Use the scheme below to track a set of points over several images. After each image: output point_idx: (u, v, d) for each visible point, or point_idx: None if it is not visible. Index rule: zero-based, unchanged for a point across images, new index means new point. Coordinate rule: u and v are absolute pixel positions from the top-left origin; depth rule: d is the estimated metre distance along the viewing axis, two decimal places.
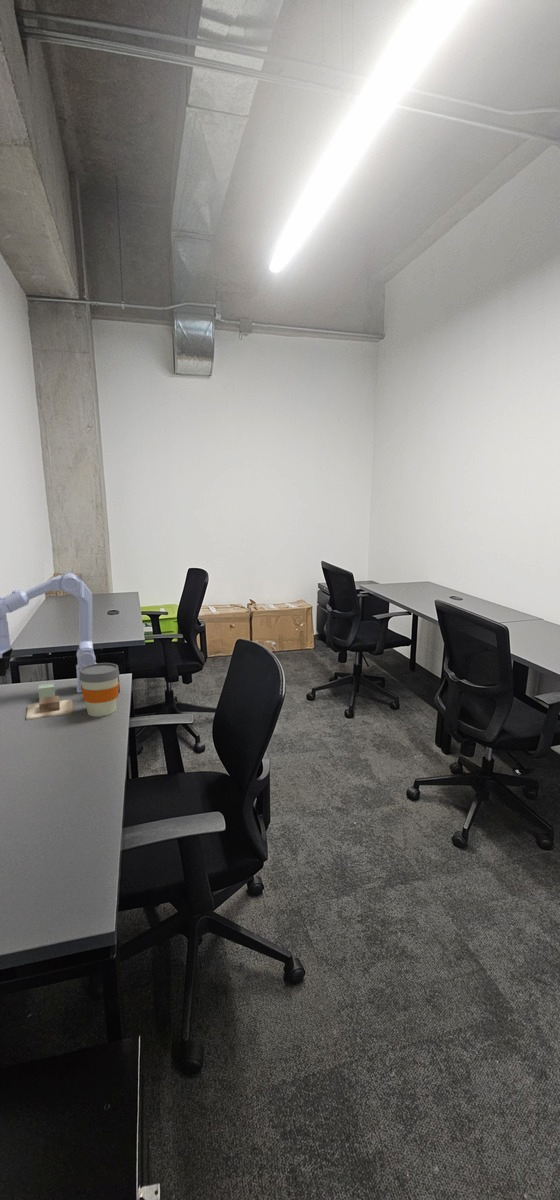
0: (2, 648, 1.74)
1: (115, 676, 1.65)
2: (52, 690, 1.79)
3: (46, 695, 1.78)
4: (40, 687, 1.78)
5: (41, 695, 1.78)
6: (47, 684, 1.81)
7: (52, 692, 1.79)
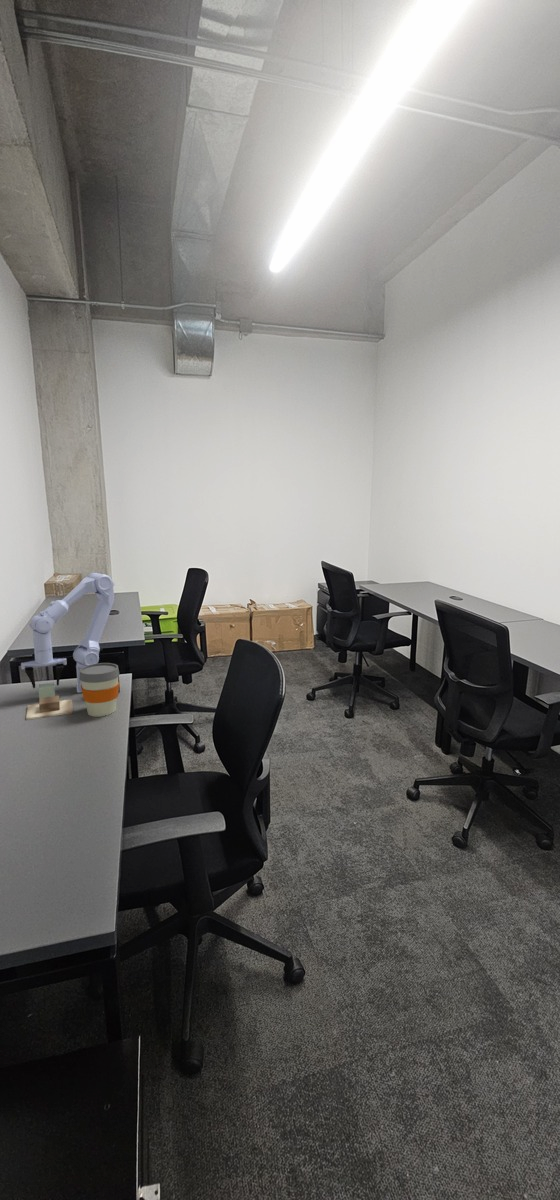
0: (35, 661, 1.77)
1: (115, 676, 1.65)
2: (52, 690, 1.79)
3: (46, 695, 1.78)
4: (40, 687, 1.78)
5: (41, 695, 1.78)
6: (47, 684, 1.81)
7: (52, 692, 1.79)
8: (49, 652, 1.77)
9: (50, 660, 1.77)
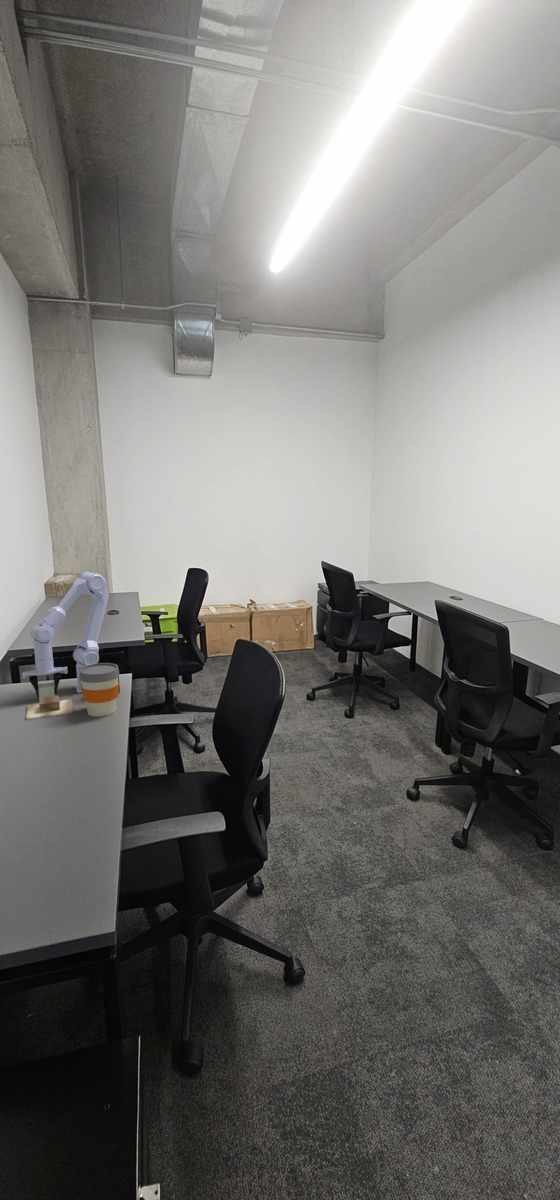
0: (36, 671, 1.77)
1: (115, 676, 1.65)
2: (52, 690, 1.79)
3: (46, 695, 1.78)
4: (40, 687, 1.78)
5: (41, 694, 1.77)
6: (47, 684, 1.81)
7: (52, 692, 1.79)
8: (50, 661, 1.77)
9: (51, 669, 1.78)
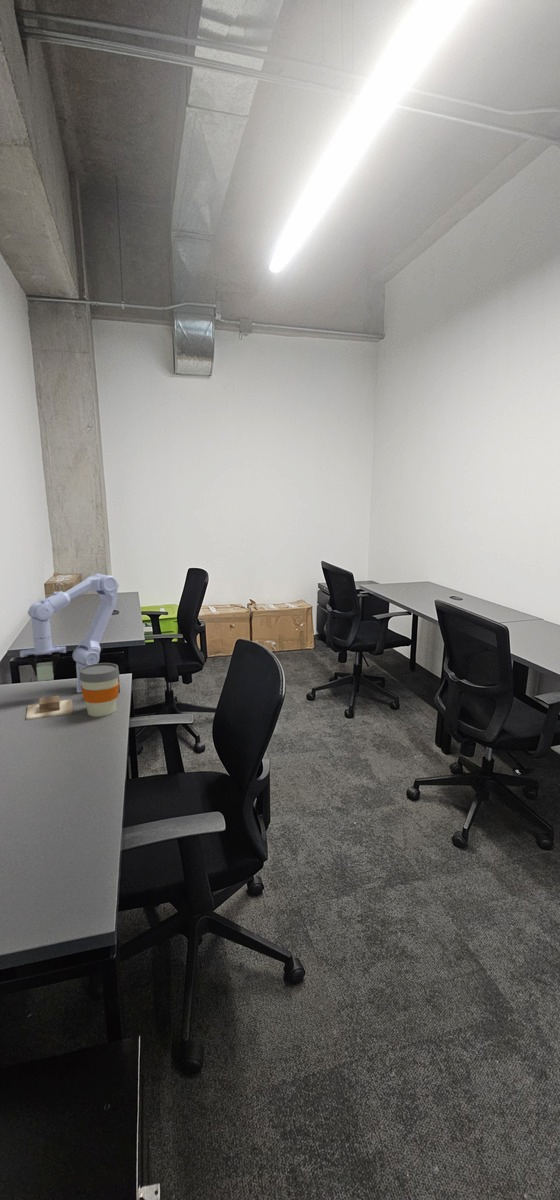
0: (34, 649, 1.75)
1: (115, 676, 1.65)
2: (50, 669, 1.76)
3: (44, 674, 1.76)
4: (38, 666, 1.76)
5: (39, 673, 1.75)
6: (45, 663, 1.79)
7: (50, 671, 1.77)
8: (48, 640, 1.75)
9: (49, 648, 1.76)
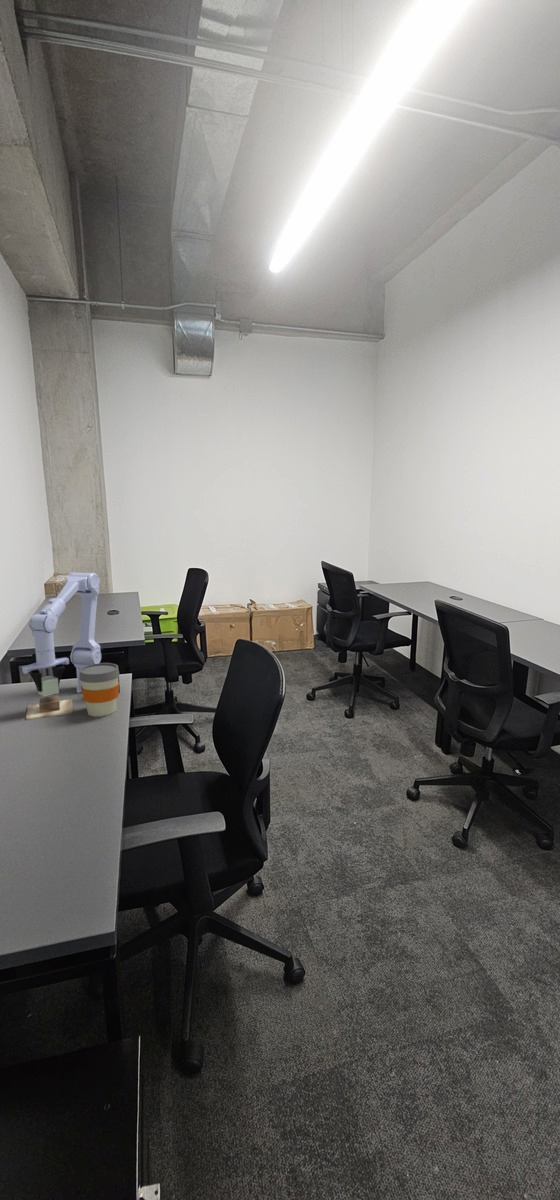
0: (38, 664, 1.65)
1: (115, 676, 1.65)
2: (56, 682, 1.69)
3: (50, 688, 1.67)
4: (43, 681, 1.66)
5: (45, 688, 1.66)
6: (47, 677, 1.70)
7: (56, 684, 1.69)
8: (53, 652, 1.67)
9: (54, 660, 1.68)
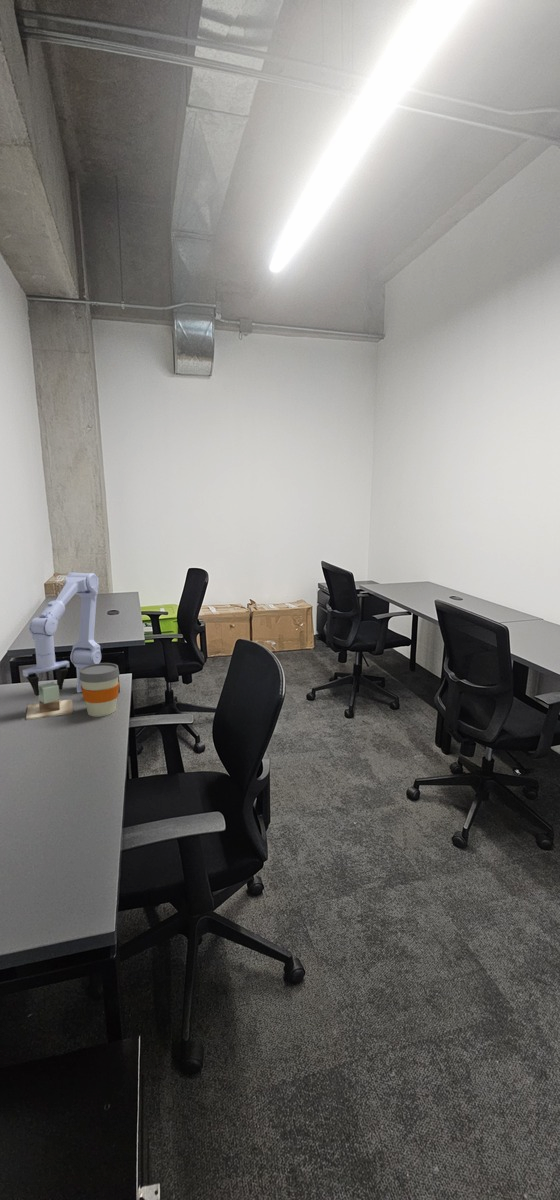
0: (38, 667, 1.65)
1: (115, 676, 1.65)
2: (57, 689, 1.69)
3: (51, 695, 1.68)
4: (43, 688, 1.67)
5: (46, 695, 1.67)
6: (47, 684, 1.70)
7: (57, 691, 1.69)
8: (54, 655, 1.67)
9: (54, 664, 1.68)
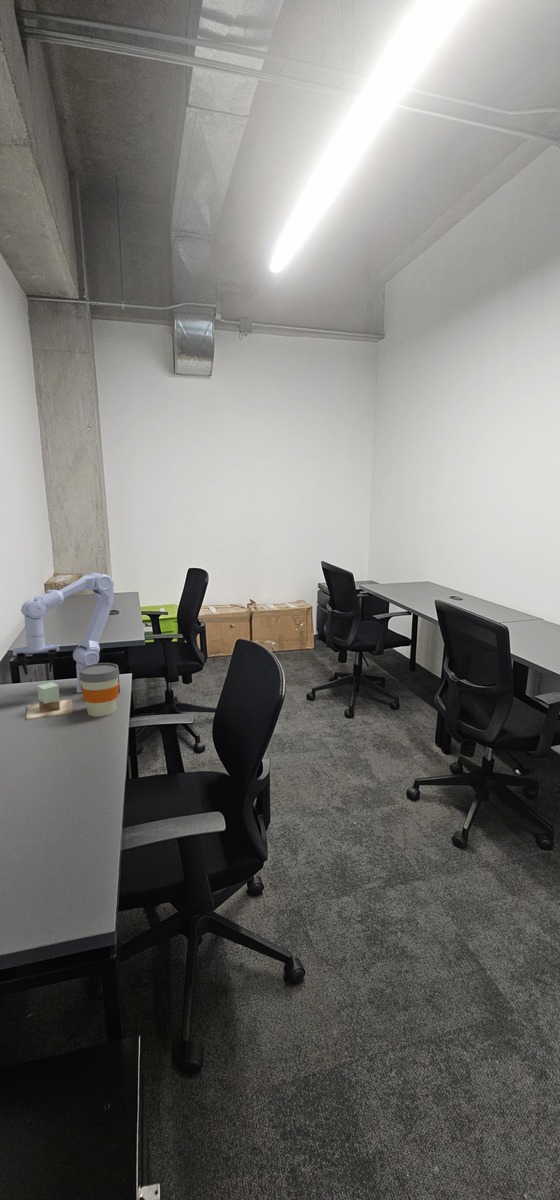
0: (27, 647, 1.74)
1: (115, 676, 1.65)
2: (57, 689, 1.69)
3: (51, 695, 1.68)
4: (43, 688, 1.67)
5: (46, 695, 1.67)
6: (47, 684, 1.70)
7: (57, 691, 1.69)
8: (41, 638, 1.74)
9: (42, 646, 1.75)
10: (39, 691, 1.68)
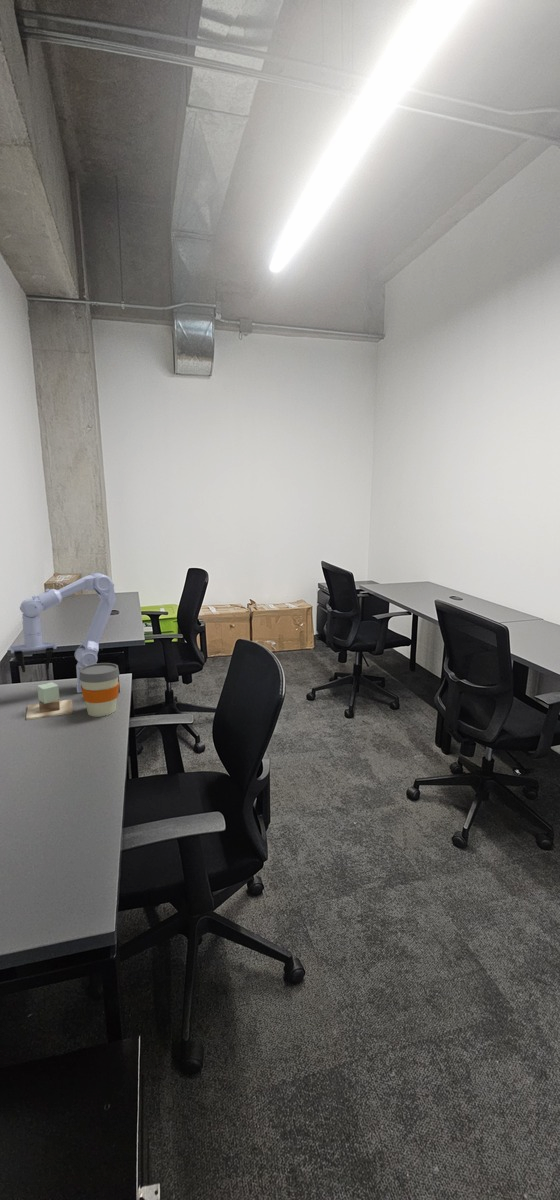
0: (24, 645, 1.76)
1: (115, 676, 1.65)
2: (57, 689, 1.69)
3: (51, 695, 1.68)
4: (43, 688, 1.67)
5: (46, 695, 1.67)
6: (47, 684, 1.70)
7: (57, 691, 1.69)
8: (38, 636, 1.76)
9: (40, 644, 1.77)
10: (39, 691, 1.68)
